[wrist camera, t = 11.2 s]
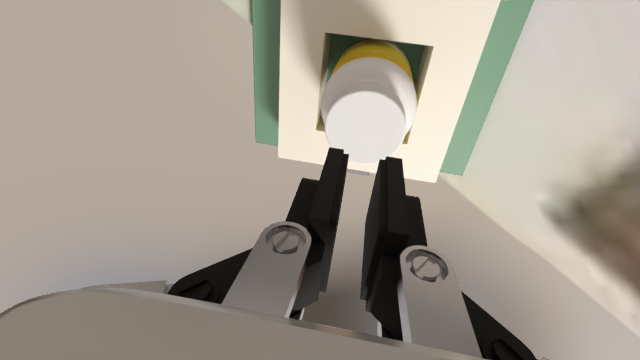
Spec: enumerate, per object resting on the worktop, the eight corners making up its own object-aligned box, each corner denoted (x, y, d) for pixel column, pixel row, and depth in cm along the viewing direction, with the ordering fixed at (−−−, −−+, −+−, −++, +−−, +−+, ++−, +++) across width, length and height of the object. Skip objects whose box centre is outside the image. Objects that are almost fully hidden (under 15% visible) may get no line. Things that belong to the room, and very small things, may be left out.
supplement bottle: (329, 43, 23) (299, 82, 15) (407, 28, 22) (422, 63, 13) (341, 114, 26) (322, 180, 18) (411, 105, 24) (425, 172, 16)
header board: (538, -20, 19) (570, -18, 16) (460, 171, 27) (471, 200, 24) (253, -51, 21) (228, -55, 18) (257, 139, 29) (241, 162, 26)
